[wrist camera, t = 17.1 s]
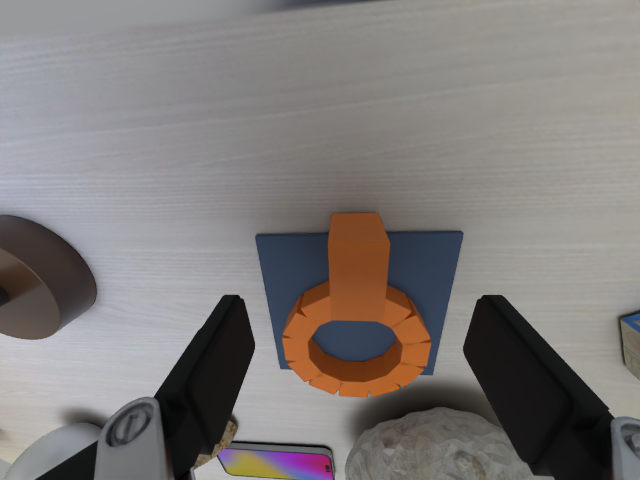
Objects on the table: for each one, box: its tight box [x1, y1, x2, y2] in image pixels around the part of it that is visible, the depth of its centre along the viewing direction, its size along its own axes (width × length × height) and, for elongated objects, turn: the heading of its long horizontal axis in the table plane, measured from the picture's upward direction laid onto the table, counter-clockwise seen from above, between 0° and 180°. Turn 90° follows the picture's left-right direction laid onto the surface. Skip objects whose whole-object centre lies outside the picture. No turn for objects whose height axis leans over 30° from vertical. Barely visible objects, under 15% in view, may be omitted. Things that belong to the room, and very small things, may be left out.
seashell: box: [193, 421, 237, 469], centre depth 27 cm, size 8×6×8 cm
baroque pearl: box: [3, 423, 102, 480], centre depth 27 cm, size 9×10×10 cm
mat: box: [255, 231, 464, 375], centre depth 19 cm, size 14×14×1 cm
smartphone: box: [217, 443, 335, 480], centre depth 31 cm, size 7×1×15 cm
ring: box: [282, 213, 431, 398], centre depth 17 cm, size 16×11×4 cm
